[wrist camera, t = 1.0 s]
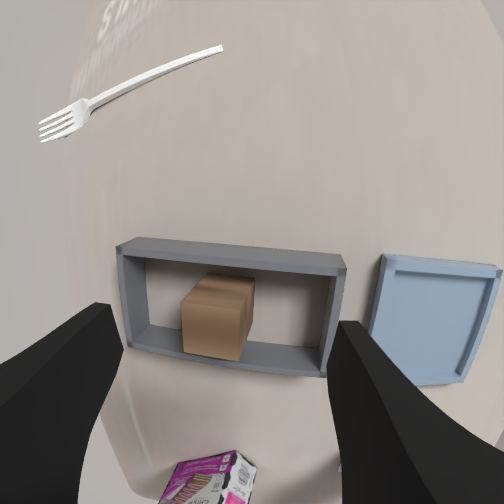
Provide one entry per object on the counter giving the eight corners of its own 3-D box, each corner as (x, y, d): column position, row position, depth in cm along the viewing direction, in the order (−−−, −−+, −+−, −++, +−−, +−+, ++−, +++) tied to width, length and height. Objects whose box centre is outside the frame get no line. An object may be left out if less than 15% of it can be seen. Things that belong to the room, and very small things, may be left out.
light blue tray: (458, 374, 23) (463, 382, 22) (355, 376, 25) (356, 386, 24) (494, 264, 20) (502, 270, 19) (382, 253, 22) (387, 258, 21)
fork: (230, 66, 21) (225, 58, 19) (52, 147, 25) (40, 146, 23) (221, 36, 20) (216, 27, 18) (49, 120, 24) (37, 119, 22)
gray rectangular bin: (324, 354, 25) (326, 377, 22) (145, 328, 27) (127, 346, 24) (340, 254, 23) (346, 268, 19) (137, 237, 25) (115, 246, 22)
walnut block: (252, 321, 25) (238, 361, 20) (208, 315, 26) (183, 351, 20) (255, 278, 24) (240, 310, 19) (207, 273, 25) (180, 302, 19)
